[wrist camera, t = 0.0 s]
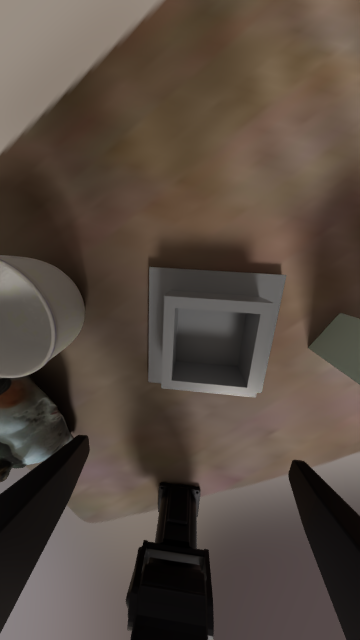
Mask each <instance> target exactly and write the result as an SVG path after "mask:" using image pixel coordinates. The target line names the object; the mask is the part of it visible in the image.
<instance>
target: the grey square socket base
mask: <svg viewBox="0 0 360 640" xmlns="http://www.w3.org/2000/svg"><path fill="white" fill-rule="evenodd" d="M285 279H286V275H277V274H260V273H243V272H226V271H209V270H192V269H175V268H158V267H149V367H148V382H153V383H161V388H164V389H174V390H185V391H195V392H205V393H215V394H225V395H236V396H246V397H256V394H257V393H262V388H263V383H264V379H265V374H266V369H267V364H268V360H269V355H270V350H271V345H272V341H273V336H274V331H275V326H276V322H277V317H278V312H279V308H280V303H281V298H282V293H283V289H284V284H285Z"/></svg>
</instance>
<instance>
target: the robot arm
mask: <svg viewBox="0 0 360 640" xmlns="http://www.w3.org/2000/svg"><path fill="white" fill-rule="evenodd" d="M89 450H90V448H89V439H88V436H87V435H78V436H76V437H75V438H73V439H72V440H71V441H69V442H68V443H67V444H65V445H64V446H63V447H62V448H60V449H59V450H58V451H56V452H55V453H54V454H52V455H51V456H50V457H48V458H47V459H46V460H45V461H43V462H42V463H41V464H39V465H38V466H37V467H35V468H34V469H33V470H31V471H30V472H29V473H27V474H26V475H25V476H24V477H22V478H21V479H20V480H18V481H17V482H16V483H14V484H13V485H12V486H10V487H9V488H8V489H7V490H5V491H4V492H3V493H1V494H0V633H1V631H2V629H3V627H4V625H5V623H6V621H7V619H8V617H9V615H10V613H11V612H12V610H13V608H14V606H15V604H16V602H17V600H18V598H19V596H20V594H21V592H22V590H23V588H24V586H25V584H26V582H27V580H28V579H29V577H30V575H31V573H32V571H33V569H34V567H35V565H36V563H37V561H38V559H39V557H40V555H41V554H42V552H43V550H44V548H45V546H46V544H47V542H48V540H49V538H50V536H51V534H52V532H53V530H54V528H55V526H56V524H57V522H58V521H59V519H60V517H61V514H62V513H63V511H64V509H65V507H66V505H67V503H68V501H69V499H70V497H71V495H72V493H73V490H74V488H75V486H76V483H77V481H78V478H79V476H80V474H81V471H82V469H83V466H84V464H85V462H86V459H87V457H88V454H89ZM289 481H290V484H291V488H292V491H293V494H294V497H295V501H296V504H297V508H298V511H299V514H300V517H301V521H302V524H303V527H304V530H305V533H306V535H307V538H308V541H309V544H310V546H311V549H312V551H313V554H314V557H315V559H316V562H317V564H318V567H319V570H320V572H321V575H322V577H323V580H324V583H325V585H326V588H327V590H328V593H329V596H330V598H331V601H332V603H333V606H334V609H335V611H336V614H337V616H338V619H339V622H340V624H341V627H342V629H343V632H344V635H345V637H346V640H360V516H359V515H358V514H357V513H356V512H355V511H354V510H353V509H352V508H351V507H350V506H349V505H348V504H347V503H346V502H345V501H344V500H343V499H342V498H341V497H340V496H339V495H338V494H337V493H336V492H335V491H334V490H333V489H332V488H331V487H330V486H329V485H328V484H327V483H326V482H325V481H324V480H323V479H322V478H321V477H320V476H319V475H318V474H317V473H316V472H315V471H314V470H313V469H312V468H311V467H310V466H309V465H308V464H307V463H306V462H304V461H302V460H293V461H292V464H291V467H290V470H289ZM199 500H200V488H198V487H191V486H184V485H176V484H168V483H160V485H159V503H158V512H159V517H158V524H157V531H156V538H155V543H153V542H148V541H147V540H144V542H143V546H142V547H140V548H139V549H138V554H137V559H136V564H135V569H134V572H133V575H132V579H131V582H130V586H129V589H128V593H127V597H126V604H127V608H128V628H127V630H128V631H132V634H131V640H213V627H214V625H213V624H214V622H213V597H212V585H211V573H210V562H209V550H208V549H204V550H200V549H197V531H196V530H197V521H196V519H197V516H198V509H199Z"/></svg>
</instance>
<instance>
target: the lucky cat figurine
mask: <svg viewBox="0 0 360 640" xmlns="http://www.w3.org/2000/svg"><path fill="white" fill-rule="evenodd" d="M73 438H74V437H73V436H72V435H71V433H70V432H69V430H68V427H67V424H66V422H65V419H64V416H63V415H62V414H61V413H60V412H59V410H58V409H57V406H56V405H55V404H54V403H53V401H52V400H51V399H50V398H49V397H48V396H47V395H46V394H45V393H44V392H43V391H42V390H41V389H40V388H39V387H38V386H37V385H36V384H35V383H34V382H33V381H32V379H31V378H30V376H29V375H26V376H23V377H16V378H3V377H0V482H2V481H4V480H6V479H7V477H8V475H9V472H10V470H11V468H23V467H25V466H26V465H28V464H34V463H39V462H42V461H44V460H46V459H47V458H48V457H50V456H51V455H52V454H54V453H55V452H56V451H58V450H59V449H60V448H61V447H62V446H63V445H64V444H67V443H68V442H69V441H71V440H72V439H73Z"/></svg>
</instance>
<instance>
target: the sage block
mask: <svg viewBox="0 0 360 640" xmlns="http://www.w3.org/2000/svg"><path fill="white" fill-rule="evenodd" d="M308 348H309V349H310V350H312V351H313V352H315V353H316V354H317V355H319V356H320V357H322V358H323V359H324V360H326V361H327V362H329V363H330V364H331V365H333V366H334V367H336V368H337V369H338V370H340V371H341V372H343V373H344V374H346V375H347V376H348V377H350V378H351V379H353V380H354V381H355V382H357V383H358V384H360V319H359V318H356V317H353V316H350V315H346V314H343V313H339V315H338V316H337V317H336V318H335V319H334V320H333V321H332V322H331V323H330V324H329V325H328V326H327V328H326V329H325V330H324V331H323V332H322V333H321V334H320V335H319V336H318V337H317V338H316V340H315V341H314V342H313V343H312V344H311V345H310V346H309V347H308Z"/></svg>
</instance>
